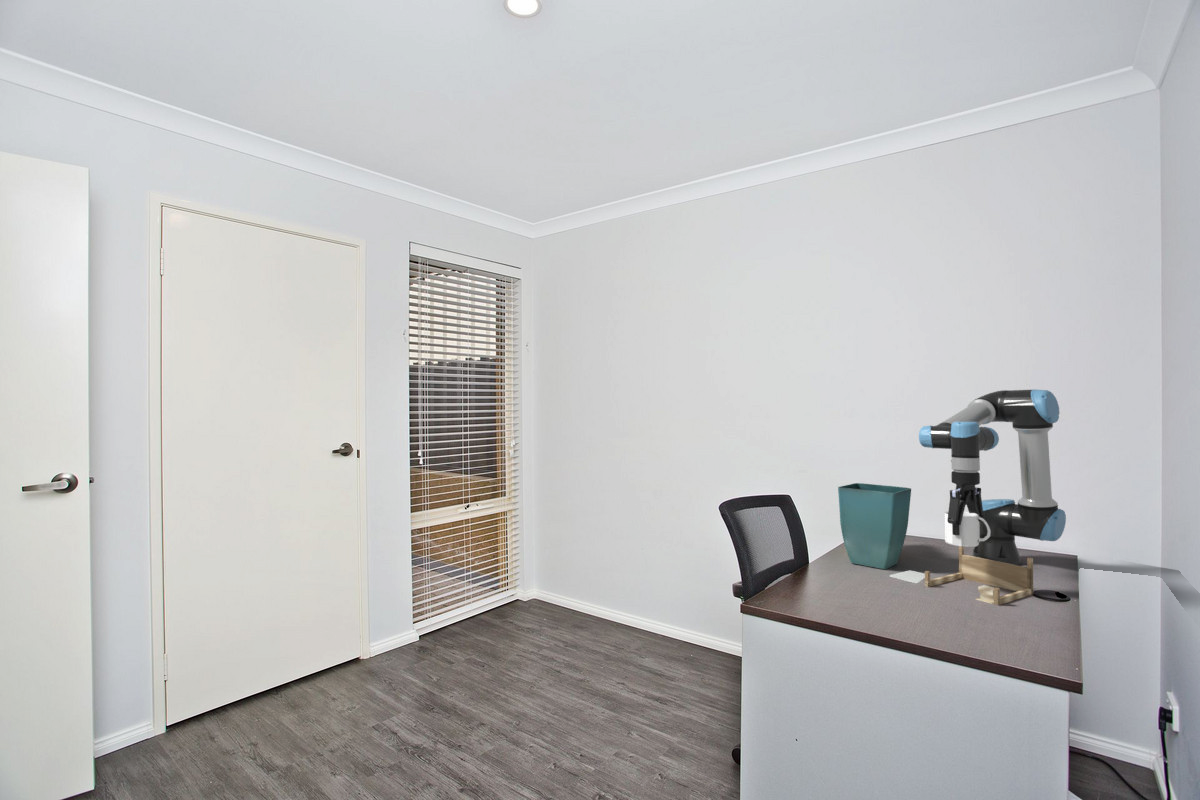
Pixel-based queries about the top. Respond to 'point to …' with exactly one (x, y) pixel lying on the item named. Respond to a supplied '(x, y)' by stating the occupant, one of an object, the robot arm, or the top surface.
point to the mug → (967, 529)
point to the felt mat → (909, 576)
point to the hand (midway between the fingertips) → (966, 543)
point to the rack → (991, 576)
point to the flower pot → (874, 522)
